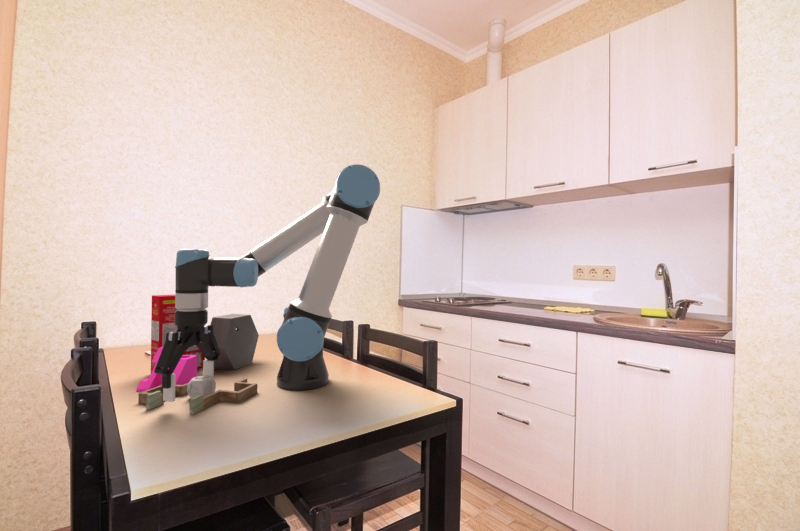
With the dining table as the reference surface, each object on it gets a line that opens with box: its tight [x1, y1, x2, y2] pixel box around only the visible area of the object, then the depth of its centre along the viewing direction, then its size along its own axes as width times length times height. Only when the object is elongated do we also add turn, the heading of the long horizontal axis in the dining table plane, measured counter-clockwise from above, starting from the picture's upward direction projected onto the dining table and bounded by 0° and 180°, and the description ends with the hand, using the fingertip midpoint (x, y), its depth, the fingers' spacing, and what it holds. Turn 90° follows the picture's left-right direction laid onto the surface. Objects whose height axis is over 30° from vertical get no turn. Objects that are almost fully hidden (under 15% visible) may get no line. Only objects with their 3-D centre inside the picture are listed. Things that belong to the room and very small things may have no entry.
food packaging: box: [150, 293, 207, 373], centre depth 133 cm, size 15×5×25 cm, turn 145°
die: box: [187, 375, 217, 399], centre depth 107 cm, size 5×5×5 cm
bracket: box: [135, 346, 198, 393], centre depth 117 cm, size 12×10×10 cm
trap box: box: [137, 377, 258, 415], centre depth 107 cm, size 24×22×4 cm
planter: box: [209, 313, 260, 371], centre depth 140 cm, size 17×8×21 cm
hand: (189, 392), depth 103 cm, fingers open, 13 cm apart
